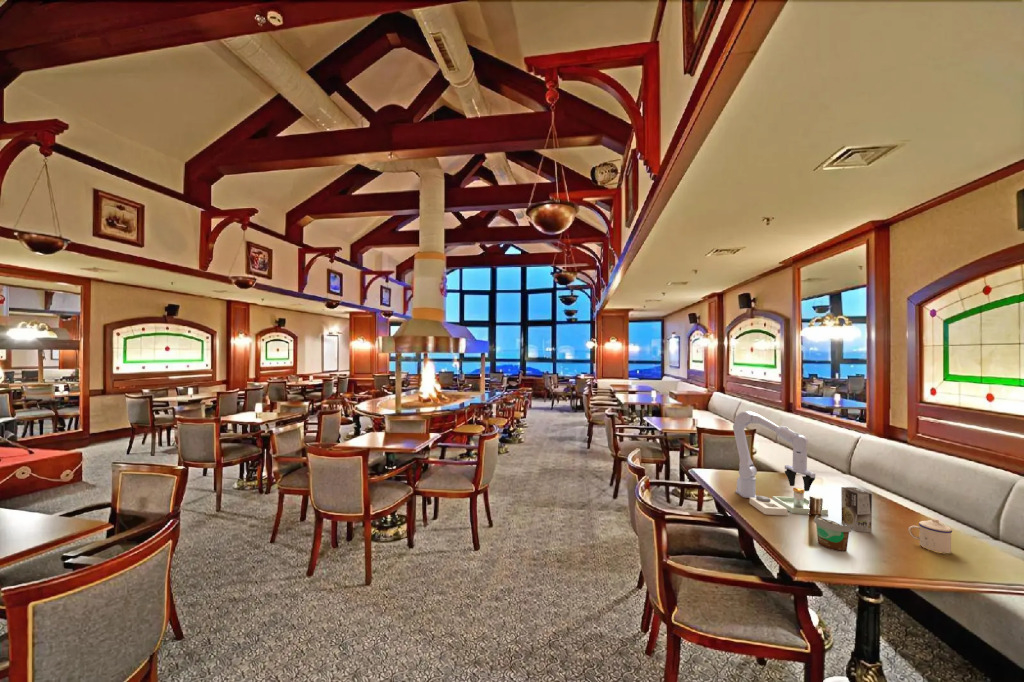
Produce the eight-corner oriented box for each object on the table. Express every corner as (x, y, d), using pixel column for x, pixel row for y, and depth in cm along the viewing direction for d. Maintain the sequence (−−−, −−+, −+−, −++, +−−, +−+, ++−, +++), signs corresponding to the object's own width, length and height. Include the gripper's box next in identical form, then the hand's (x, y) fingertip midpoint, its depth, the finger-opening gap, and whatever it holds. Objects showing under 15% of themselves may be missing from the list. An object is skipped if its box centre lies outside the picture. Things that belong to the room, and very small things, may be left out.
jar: (790, 505, 203) (790, 487, 203) (797, 504, 204) (797, 487, 204) (799, 508, 198) (799, 491, 198) (806, 508, 199) (806, 490, 200)
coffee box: (872, 532, 175) (872, 494, 176) (857, 531, 175) (857, 493, 176) (855, 523, 184) (855, 486, 185) (840, 522, 184) (840, 486, 185)
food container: (806, 541, 165) (806, 515, 165) (816, 538, 167) (816, 513, 167) (840, 555, 153) (840, 528, 154) (851, 553, 156) (851, 526, 156)
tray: (772, 501, 210) (772, 496, 210) (805, 502, 209) (805, 497, 209) (792, 513, 194) (792, 508, 194) (827, 515, 193) (827, 509, 193)
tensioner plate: (749, 503, 206) (749, 495, 206) (770, 504, 205) (770, 496, 205) (765, 514, 192) (765, 505, 192) (787, 515, 191) (787, 506, 191)
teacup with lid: (950, 549, 161) (950, 519, 162) (953, 557, 155) (953, 526, 155) (908, 539, 169) (908, 510, 170) (908, 546, 163) (909, 516, 163)
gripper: (780, 456, 208) (779, 483, 208) (807, 464, 194) (807, 493, 194) (791, 456, 210) (790, 483, 209) (819, 464, 196) (818, 493, 195)
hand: (799, 488), depth 202 cm, fingers open, 7 cm apart
